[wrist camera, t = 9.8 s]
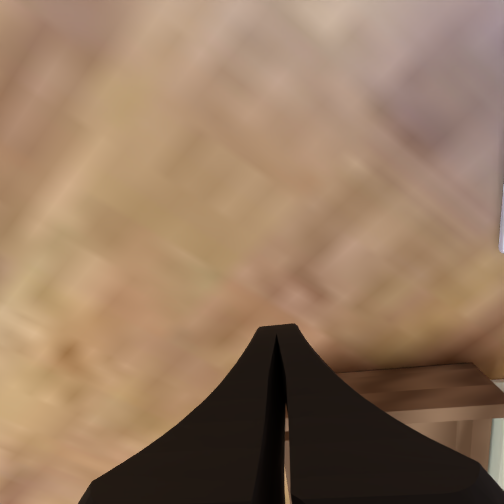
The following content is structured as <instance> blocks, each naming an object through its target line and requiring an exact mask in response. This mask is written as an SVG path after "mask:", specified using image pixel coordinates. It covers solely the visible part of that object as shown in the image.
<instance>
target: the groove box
mask: <svg viewBox="0 0 504 504" xmlns="http://www.w3.org/2000/svg"><path fill="white" fill-rule="evenodd" d="M336 374H337V375H338V376H339V377H340V378H341V379H342V380H343V381H344V382H346V383H347V384H348V385H349V386H350V387H351V388H353V389H354V390H355V391H356V392H358V393H359V394H360V395H361V396H363V397H364V398H365V399H367V400H368V401H370V402H371V403H373V404H374V405H376V406H377V407H378V408H380V409H381V410H383V411H384V412H386V413H387V414H389V415H390V416H392V417H394V418H395V419H397V420H398V421H400V422H402V423H404V424H405V425H407V426H409V427H411V428H412V429H414V430H416V431H418V432H419V433H421V434H423V435H425V436H427V437H428V438H430V439H433V440H435V441H437V442H439V443H441V444H443V445H445V446H447V447H449V448H451V449H453V450H455V451H457V452H459V453H461V454H463V455H465V456H467V457H469V458H471V459H473V460H475V461H477V462H479V463H480V464H481V465H482V467H483V468H484V469H485V470H486V471H487V472H488V461H489V449H490V437H491V426H492V419H494V418H504V392H503V391H502V390H501V389H500V388H498V387H497V386H496V385H495V384H494V383H493V382H492V381H491V380H490V379H489V378H488V377H487V376H486V375H485V374H484V373H483V372H481V371H480V370H479V369H478V368H477V367H476V366H475V365H474V364H473V363H461V364H448V365H436V366H423V367H410V368H397V369H385V370H372V371H359V372H347V373H336ZM284 463H285V470H286V477H287V484H288V491H289V498H290V504H292V501H291V494H290V452H289V425H288V413H287V407H286V417H285V460H284Z"/></svg>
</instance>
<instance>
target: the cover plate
mask: <svg viewBox="0 0 504 504" xmlns="http://www.w3.org/2000/svg"><path fill="white" fill-rule="evenodd" d="M491 381H492V382H493V383H494V384H495V385H496V386H497V387H498V388H500V389H501V390H502V391H503V392H504V379H498V380H491ZM488 474H489V475H490V476H491V477H492V478H493V479H494V480H495V481H496V483H497V484H498V485H499V486H500V487H501V488H502V489H503V490H504V418H494V419H492V426H491V437H490V449H489V461H488Z"/></svg>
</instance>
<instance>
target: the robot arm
mask: <svg viewBox="0 0 504 504" xmlns="http://www.w3.org/2000/svg"><path fill="white" fill-rule="evenodd" d="M499 250H500V252H501V253H503V254H504V186H503V198H502V211H501V224H500V237H499ZM286 407H287V413H288V425H289V452H290V494H291V501H292V504H504V490H503V489H502V488H501V487H500V486H499V485H498V484H497V483H496V481H495V480H494V479H493V478H492V477H491V476H490V475H489V474H488V472H487V471H486V470H485V469H484V468H483V467H482V465H481V464H480V463H479V462H477V461H475V460H473V459H471V458H469V457H467V456H465V455H463V454H461V453H459V452H457V451H455V450H453V449H451V448H449V447H447V446H445V445H443V444H441V443H439V442H437V441H435V440H433V439H430V438H428V437H427V436H425V435H423V434H421V433H419V432H418V431H416V430H414V429H412V428H411V427H409V426H407V425H405V424H404V423H402V422H400V421H398V420H397V419H395V418H394V417H392V416H390V415H389V414H387V413H386V412H384V411H383V410H381V409H380V408H378V407H377V406H376V405H374V404H373V403H371V402H370V401H368V400H367V399H365V398H364V397H363V396H361V395H360V394H359V393H358V392H356V391H355V390H354V389H353V388H351V387H350V386H349V385H348V384H347V383H346V382H344V381H343V380H342V379H341V378H340V377H339V376H338V375H337V374H336V373H335V372H334V371H333V370H332V369H331V368H330V367H329V366H328V365H327V364H326V363H325V362H324V361H323V360H322V359H321V358H320V357H319V355H318V354H317V353H316V352H315V351H314V349H313V348H312V347H311V346H310V344H309V343H308V342H307V340H306V339H305V338H304V336H303V335H302V333H301V332H300V330H299V328H298V326H297V325H296V324H283V325H273V326H263V327H259V328H258V329H257V331H256V333H255V334H254V336H253V338H252V340H251V341H250V343H249V345H248V346H247V348H246V349H245V351H244V352H243V354H242V355H241V357H240V358H239V360H238V361H237V363H236V364H235V365H234V367H233V368H232V369H231V371H230V372H229V373H228V374H227V376H226V377H225V378H224V380H223V381H222V382H221V383H220V384H219V385H218V387H217V388H216V389H215V390H214V391H213V392H212V393H211V394H210V395H209V396H208V397H207V398H206V399H205V400H204V401H203V402H202V403H201V404H200V405H199V406H198V407H196V408H195V409H194V410H193V411H192V412H191V413H190V414H188V415H187V416H186V417H185V418H184V419H183V420H182V421H181V422H179V423H178V424H177V425H176V426H174V427H173V428H172V429H170V430H169V431H168V432H167V433H165V434H164V435H163V436H161V437H160V438H158V439H157V440H156V441H154V442H153V443H152V444H150V445H149V446H147V447H146V448H144V449H143V450H142V451H140V452H139V453H137V454H136V455H134V456H132V457H131V458H129V459H128V460H126V461H124V462H123V463H121V464H120V465H118V466H116V467H115V468H113V469H112V470H110V471H108V472H107V473H105V474H104V475H102V476H100V477H99V478H97V479H95V480H93V481H92V482H91V484H90V485H89V487H88V488H87V490H86V492H85V493H84V495H83V496H82V498H81V499H80V501H79V503H78V504H285V491H284V460H285V417H286Z"/></svg>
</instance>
